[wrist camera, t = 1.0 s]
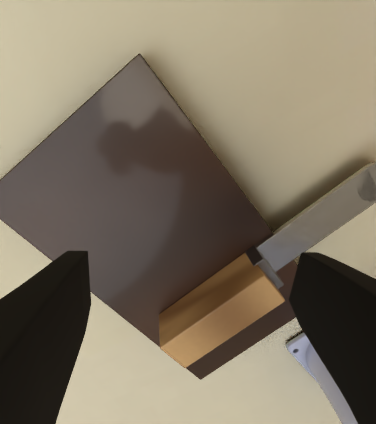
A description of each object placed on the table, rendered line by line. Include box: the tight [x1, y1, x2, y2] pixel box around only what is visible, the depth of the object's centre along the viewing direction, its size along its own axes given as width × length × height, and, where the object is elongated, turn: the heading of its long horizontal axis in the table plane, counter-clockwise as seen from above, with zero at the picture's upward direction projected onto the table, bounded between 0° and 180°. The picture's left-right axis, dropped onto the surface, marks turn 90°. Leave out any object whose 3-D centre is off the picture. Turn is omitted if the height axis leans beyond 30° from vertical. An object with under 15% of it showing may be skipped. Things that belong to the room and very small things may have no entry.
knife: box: [159, 162, 376, 368], centre depth 18 cm, size 18×3×3 cm, turn 128°
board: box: [0, 54, 297, 380], centre depth 19 cm, size 21×12×2 cm, turn 38°
